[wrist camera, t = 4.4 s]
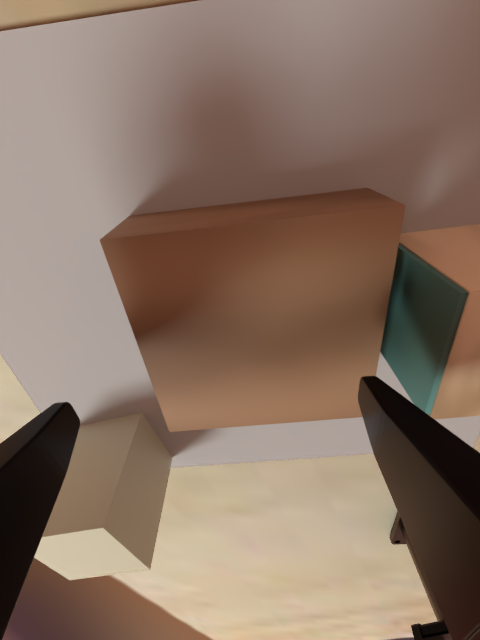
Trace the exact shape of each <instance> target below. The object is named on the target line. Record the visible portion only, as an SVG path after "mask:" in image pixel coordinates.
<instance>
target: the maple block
mask: <svg viewBox="0 0 480 640" xmlns="http://www.w3.org/2000/svg"><path fill="white" fill-rule="evenodd" d="M380 352H381V354H382V355H383V357H384V358H385V360H386V362H387V363H388V365H389V366H390V368H391V369H392V371H393V372H394V374H395V376H396V377H397V379H398V380H399V382H400V383H401V385H402V386H403V388H404V390H405V391H406V393H407V394H408V396H409V397H410V399H411V400H412V402H413V403H414V405H416V406H417V407H419V408H420V409H421V410H423V411H424V412H425V413H427V414H428V415H429V416H431V417H432V418H433V419H446V418H458V417H470V416H480V224H477V225H468V226H460V227H451V228H443V229H434V230H426V231H417V232H409V233H401V234H400V240H399V246H398V251H397V257H396V263H395V269H394V274H393V280H392V286H391V292H390V297H389V303H388V309H387V315H386V321H385V326H384V332H383V338H382V344H381V349H380Z"/></svg>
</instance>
